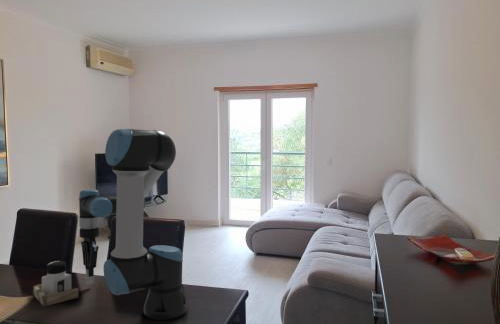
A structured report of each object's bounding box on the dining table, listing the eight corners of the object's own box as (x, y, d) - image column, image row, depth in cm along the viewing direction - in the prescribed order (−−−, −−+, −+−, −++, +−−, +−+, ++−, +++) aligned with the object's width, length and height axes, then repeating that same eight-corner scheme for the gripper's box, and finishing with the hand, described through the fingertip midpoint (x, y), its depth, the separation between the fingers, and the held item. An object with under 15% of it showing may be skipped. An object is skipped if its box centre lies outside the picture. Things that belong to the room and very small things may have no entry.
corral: (78, 297, 143) (78, 288, 143) (43, 306, 134) (43, 297, 134) (66, 287, 153) (66, 278, 153) (33, 294, 145) (33, 286, 145)
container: (71, 293, 146) (71, 261, 146) (53, 300, 140) (53, 266, 139) (59, 289, 150) (59, 258, 150) (41, 296, 143) (41, 263, 143)
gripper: (104, 228, 150) (105, 285, 150) (92, 223, 159) (92, 277, 160) (86, 230, 144) (86, 290, 145) (74, 225, 154) (74, 281, 154)
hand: (89, 283), depth 152 cm, fingers closed
